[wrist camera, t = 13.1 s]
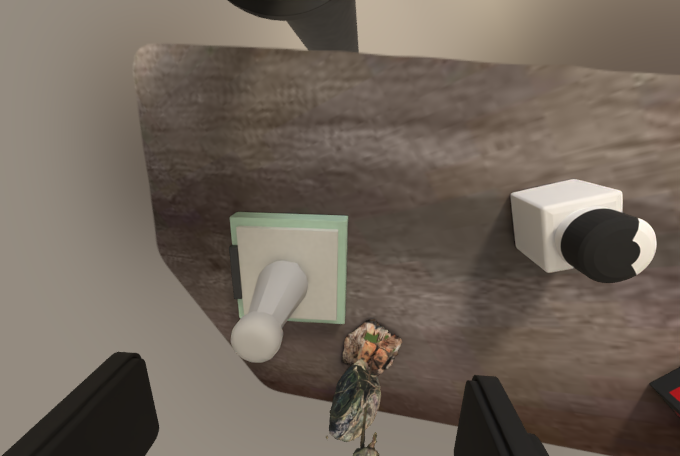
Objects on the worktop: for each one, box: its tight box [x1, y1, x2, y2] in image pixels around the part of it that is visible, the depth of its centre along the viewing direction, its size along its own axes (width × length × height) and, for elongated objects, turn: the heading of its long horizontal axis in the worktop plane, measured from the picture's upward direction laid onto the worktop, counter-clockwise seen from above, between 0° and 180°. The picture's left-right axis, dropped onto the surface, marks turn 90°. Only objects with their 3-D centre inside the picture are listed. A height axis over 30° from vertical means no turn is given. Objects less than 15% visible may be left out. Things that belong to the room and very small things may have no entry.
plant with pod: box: [326, 320, 402, 456], centre depth 35 cm, size 8×11×20 cm
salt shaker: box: [231, 260, 308, 362], centre depth 32 cm, size 6×6×13 cm
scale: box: [229, 212, 348, 324], centre depth 40 cm, size 14×14×3 cm
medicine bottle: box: [510, 179, 656, 283], centre depth 31 cm, size 7×7×12 cm
